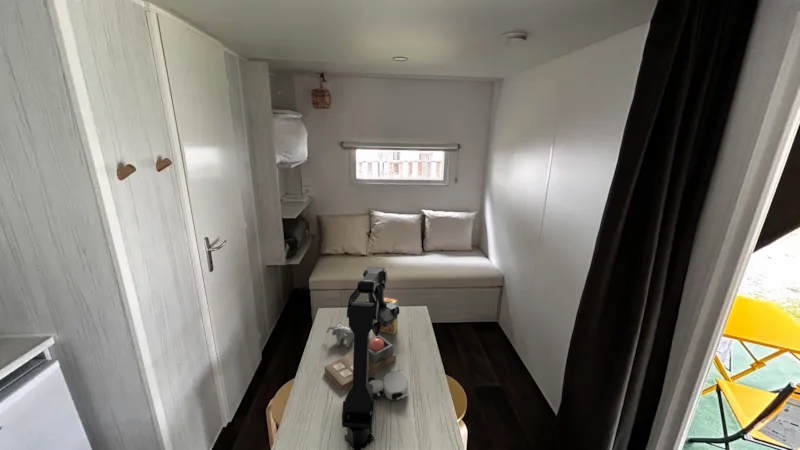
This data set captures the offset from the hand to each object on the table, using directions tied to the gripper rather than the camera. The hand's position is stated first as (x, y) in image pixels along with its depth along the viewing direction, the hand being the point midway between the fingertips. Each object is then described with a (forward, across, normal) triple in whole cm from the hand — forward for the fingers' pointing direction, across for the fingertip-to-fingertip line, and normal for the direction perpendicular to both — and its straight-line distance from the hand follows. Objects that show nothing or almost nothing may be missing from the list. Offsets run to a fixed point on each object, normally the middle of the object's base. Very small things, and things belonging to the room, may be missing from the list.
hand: (376, 335), depth 128 cm
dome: (+8, 0, 0) cm, 8 cm away
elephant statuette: (+11, -5, +18) cm, 21 cm away
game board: (+10, -7, 0) cm, 13 cm away
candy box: (+11, +15, +12) cm, 22 cm away
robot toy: (+11, -8, -16) cm, 21 cm away
